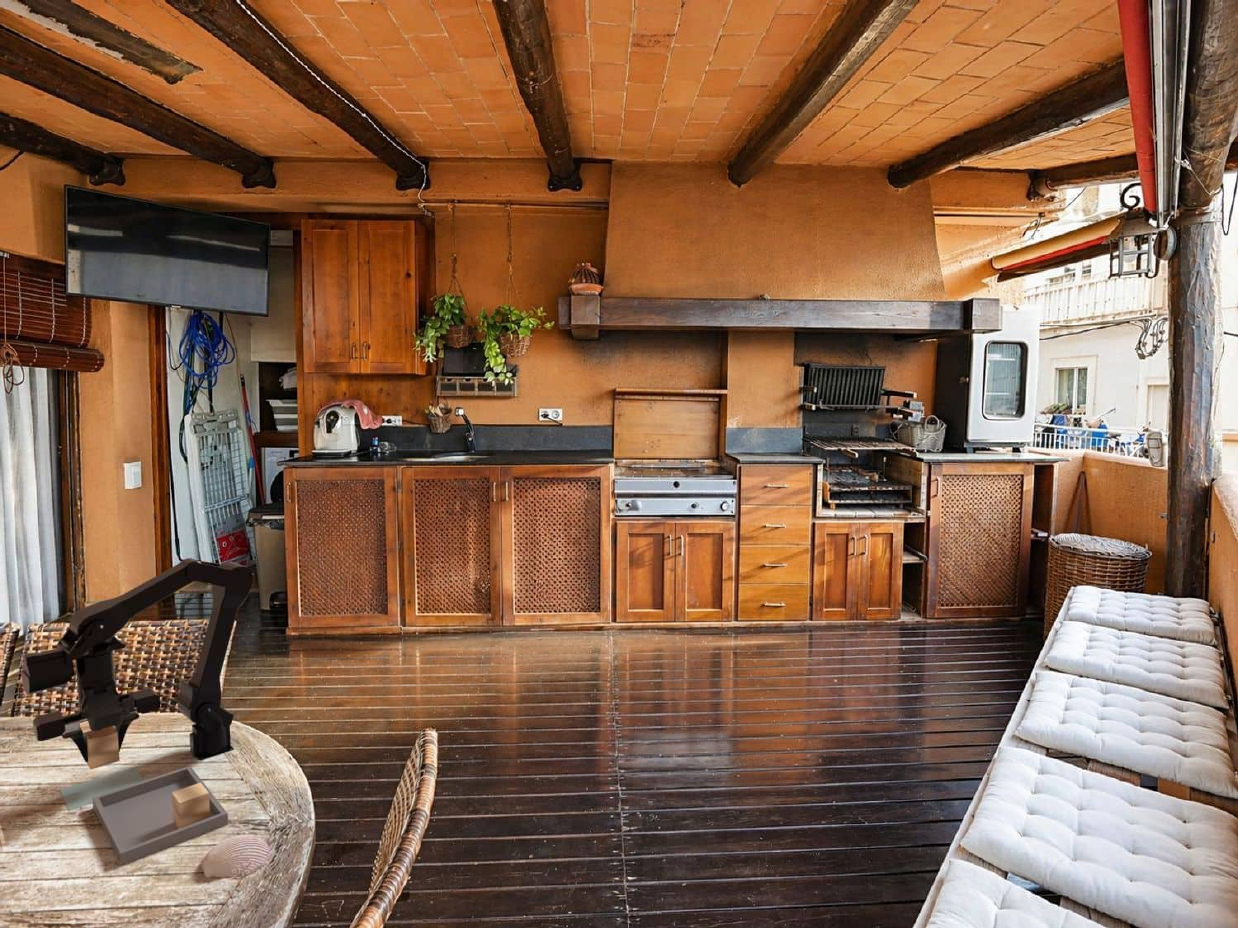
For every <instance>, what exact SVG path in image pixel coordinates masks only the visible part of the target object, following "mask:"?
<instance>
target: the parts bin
mask: <svg viewBox="0 0 1238 928" xmlns="http://www.w3.org/2000/svg"><path fill="white" fill-rule="evenodd" d="M198 783H202V785H203V786H204V787H205V789H206V790H207V791H208V792H209V805H210V818H207V819H204V820H202V821H199V822H196V823H194V824H191V825H188V826H186V827H183V828H180V829H178V828H177V827H176V825H175V824H174V819H173V803H172V792H175V791H178V790H180V789H183V788H186V787H189V786H192V785H195V784H198ZM92 799H93V803H92V810H93V811H94V814H95V815H96V817H97V819H98V821H99V823H100V825H101V828H102V829H103V831H104V833H105V836H106V838H107V840H108V841H109V843H110V846H111V848H112V850H113V852H114V854H115V855H116V858H117V860H118V862H119V864H120V865H121V866H122V867H123V866H124V865H125V866H126V865H128V864H129V863H132V862H135V861H137V860H140V859H143V858H145V857H148V856H150V855H154V854H155V853H159V852H161V851H163V850H166V849H168V848H171V847H173V846H174V847H175V846H176V845H179V844H181V843H184V842H186V841H190V840H191V839H194V838H196V837H200V836H201V835H204V834H207V833H210V832H212V831H214V830H217V829H220V828H223V827H226V826H228V825H229V813H228V811H226V809H225V808H224V807H223V805H222V804H221V803H220V801H219V800H218V799H217V798H216V796H215V795H214V794H213V793H212V791H211V790H210V789H209V788H208V787H207V785H206V784H205V782H204V781H203V780H202V779H201V778H200V776H199V775H198V774H197V773H196V771H195V770H194V769H193V767H192V766H191V765H190V766H189V765H188V766H186V767H182V768H180V769H176V770H173V771H170V772H168V773H167V772H166V773H164V774H161V775H158V776H155V777H152V778H149V779H146V780H145V779H144V781H142V782H139V783H136V784H133V785H130V786H127V787H124V788H121V789H118V790H115V791H111V792H108V793H105V794H102V795H99V796H96V797H93V798H92Z"/></svg>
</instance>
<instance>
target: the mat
mask: <svg viewBox="0 0 1238 928" xmlns="http://www.w3.org/2000/svg"><path fill="white" fill-rule="evenodd" d="M142 781H145V779H144V778H143V776H142V775H141V773H140V771H139V769H138V768H137V767H136V766H133V767H130V768H126V769H123V770H120V771H117V772H113V773H110V774H107V775H104V776H100V777H97V778H95V779H91V780H87V781H84V782H82V783H77V784H75V785H71V786H68V787H65V788H62V789H60V790H59V792H60V794H61V796H62V798H63V800H64V803H65V805H66V807H67V810H68V811H73V810H76V809H78V808H81V807H85V806H87V805H90V804H93V799H92V798H93V797H96V796H99V795H102V794H105V793H108V792H111V791H115V790H118V789H121V788H124V787H127V786H130V785H133V784H136V783H139V782H142Z"/></svg>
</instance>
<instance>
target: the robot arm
mask: <svg viewBox="0 0 1238 928" xmlns="http://www.w3.org/2000/svg"><path fill="white" fill-rule="evenodd" d="M193 582H199V583H204V584H209V585H211V595H212V603H213V604H212V609H211V612H210V617H209V619H208V624H207V628H206V631H205V635H204V638H203V642H202V647H201V651H200V654H199V658H198V661H197V665H196V669H195V672H194V674H193V675H192V677H191V678H190V679H189V681H185V680H182V681H181V682H180V685H179V693H178V695H177V696H176V698H175V700H174V701H175V702H177V709H178V710H179V712H180V713H181V714H182V715H183V716H184V717H186V718H187V719H188V720H189V721H191V722H192V723H193V724H192V725H191V729H192V732H190V733H189V748H190V750H189V751H190V753H191V754H192V756H193V757H195V758H197V759H198V760H199V761H204V760H207V759H209V758H213V757H216V756H219V755H222V754H225V753H228V752H233V750H235V748H234V747H233V746H232V742H231V725H232V722H233V721H234V720H233V719H234V716H235V715H234V714H233V713H232V712H230V711H228V710H227V709H226V708H225V707H223V706H222V697H223V694H222V693H223V692H222V685H221V674H222V671H223V667H224V663H225V659H226V656H227V651H228V649H229V644H230V641H231V637H232V632H233V629H234V626H235V622H236V618H237V613H238V610H239V608H240V607H241V606H242V605H243V604H244V603H245V601H246V600H247V598H248V597H249V595H250V592H251V590H252V588H253V586H254V583H255V574H254V572H253V571H252V569H250V568H249V567H248V566H245V565H241V564H239V563H238V562H234V561H225V562H222V563H216V562H211V561H205V560H197V559H195V558H192V557H190V558H185V559H182V560H181V561H180V562H179V563H177V564H175V565H173V566H172V567H170V568H169V569H166V570H165V571H163V572H161V573H159V574H157V575H155V576H154V577H152V578H150V579H149V580H146V581H145V582H143V583H142V584H140V585H137V586H136V587H134V588H132V589H130V590H128V591H127V592H125V593H123V594H120V595H119V596H116V597H113V598H110V599H104V600H102V601H98V602H96V603H95V602H94V603H93V604H90V605H88V606H84V607H82V608H80V609H78V610H77V611H75V612H73V614H72V615H71V618H70V620H69V624H68V628H67V630H66V631H65V633H64V634H63V635H62V637H61V638H60V639H59V640H58V642H57V644H56V647H57V648H53V649H48V650H45V651H39V652H31V653H27V654H23V662H22V668H21V670H20V676H21V681H22V687H23V690H24V692H25V694H26V695H31V694H36V693H39V692H44V691H46V690H52V689H55V688H59V687H64V686H66V685H68V683H69V682H72V680H73V678H74V677H75V676H76V689H77V699H78V711H77V712H73V713H70V714H66V715H62V712H61V711H60V710H56V711H52V712H48V713H45V714H40V715H37V716H35V717H34V719H33V720H32V728H33V729H32V730H33V733H34V736H35V738H36V740H37V742H44V741H48V740H53V739H56V738H59V737H61V738H62V739H64V740H66V739H71V741H73V743H74V744H75V746H76V747H77V748H78V750H79V752H80V755H81V757H82V758H83V761H84V762H85V763H87V762H88V753H87V749H86V745H85V741H84V736H83V733H84V731H83V729H82V728H81V723H84V722H87V723H88V726H89V729H90V731H91V730H92V731H99V730H101V729H103V728H107V727H110V726H113V727H114V728H115V730H116V731H117V733H118V746H119V753H120V752H121V749H122V746H123V743H124V739H125V736H126V733H127V731H128V729H129V727H130V725H131V724H132V723H133V721H136V720H138V719H140V714H142V715H144V714H147V713H152V712H154V711H158V710H160V709H161V698H160V695H159V694H158V693H157V691H155V689H153V688H151V687H147V688H144V689H140V690H135V691H132V692H129V693H125V694H121V693H120V694H119V693H118V691H117V686H116V685H117V684H116V674H115V661H114V660H115V659H114V651H117V650H121V649H122V650H123V649H125V648H127V644H126V643H125V642H123V641H121V640H120V639H118V638H117V637H116V636H115V635H116V634H117V633H119V632H120V631H121V630H122V629H123V628H124V627H125V626H126V625H127V624H128V623H129V622H130V620H131V619H132V618H134V617H135V616H136V615H138V614H140V613H142V612H144V611H145V610H147V609H149V608H150V607H152V606H153V605H155V604H158V603H159V602H160V601H163V600H164V599H167V598H168V597H169V596H171V595H173V594H174V593H176V592H178V591H180V590H181V589H183V588H185V587H187V586H189V585H190V584H192V583H193ZM74 663H75V664H74ZM74 665H75V666H74ZM75 674H76V675H75ZM139 713H140V714H139Z"/></svg>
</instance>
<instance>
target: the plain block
mask: <svg viewBox="0 0 1238 928" xmlns="http://www.w3.org/2000/svg"><path fill="white" fill-rule="evenodd" d="M172 803H173V819H174V824H175V825H176V827H177V828H178V829H180V828H183V827H186V826H188V825H191V824H194V823H196V822H199V821H202V820H204V819H207V818H210V805H209V792H208V791H207V790H206V789H205V787H204V786H203V785H202V783H198V784H195V785H192V786H189V787H186V788H183V789H180V790H178V791H175V792H172Z"/></svg>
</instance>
